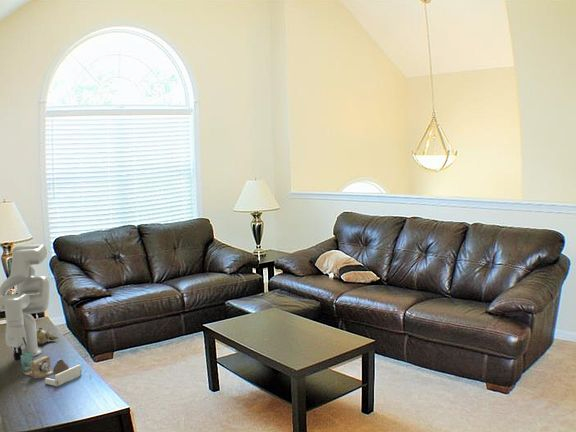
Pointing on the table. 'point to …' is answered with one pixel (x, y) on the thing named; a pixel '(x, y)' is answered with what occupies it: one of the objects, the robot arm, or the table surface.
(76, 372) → the cradle
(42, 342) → the ceramic sculpture
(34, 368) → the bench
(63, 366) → the vase
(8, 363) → the table surface
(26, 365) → the mallet
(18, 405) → the table surface
